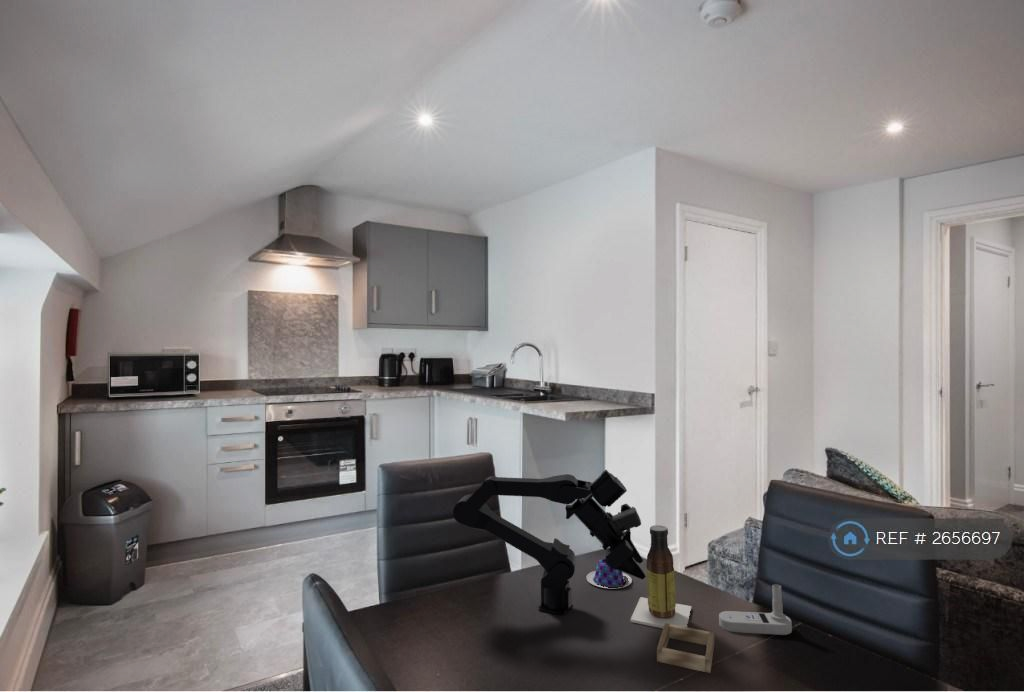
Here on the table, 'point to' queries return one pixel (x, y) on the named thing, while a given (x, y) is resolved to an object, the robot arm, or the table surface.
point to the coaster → (646, 618)
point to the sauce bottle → (660, 575)
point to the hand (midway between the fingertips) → (642, 569)
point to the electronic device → (759, 619)
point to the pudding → (607, 576)
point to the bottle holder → (683, 657)
